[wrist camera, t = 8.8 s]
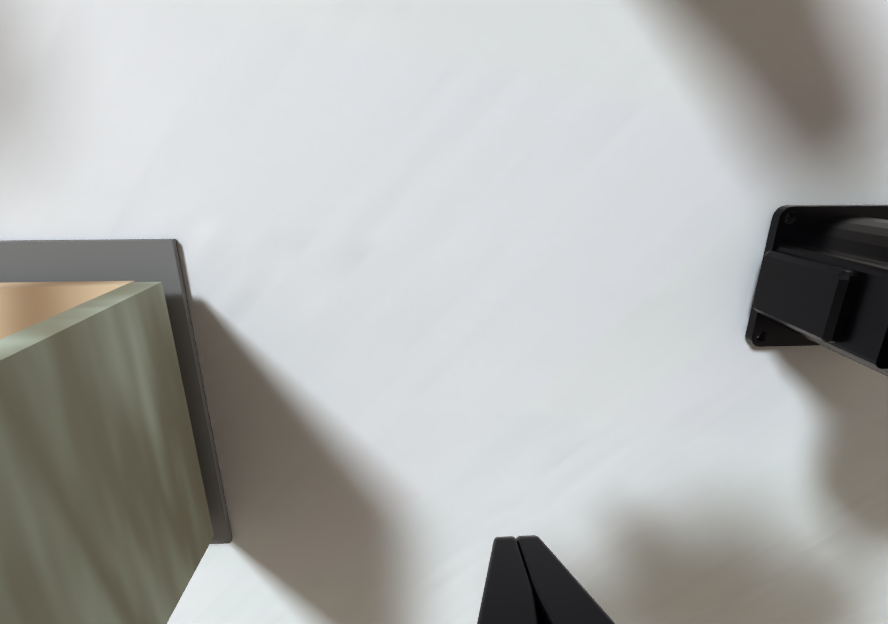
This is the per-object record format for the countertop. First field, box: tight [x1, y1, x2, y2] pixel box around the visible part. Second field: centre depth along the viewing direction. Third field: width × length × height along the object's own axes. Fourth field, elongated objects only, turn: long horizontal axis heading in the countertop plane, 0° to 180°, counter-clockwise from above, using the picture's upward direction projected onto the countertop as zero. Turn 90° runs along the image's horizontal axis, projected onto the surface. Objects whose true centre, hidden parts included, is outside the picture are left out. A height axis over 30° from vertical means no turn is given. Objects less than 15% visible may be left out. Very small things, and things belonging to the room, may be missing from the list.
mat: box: [0, 239, 232, 544], centre depth 21 cm, size 14×16×1 cm
